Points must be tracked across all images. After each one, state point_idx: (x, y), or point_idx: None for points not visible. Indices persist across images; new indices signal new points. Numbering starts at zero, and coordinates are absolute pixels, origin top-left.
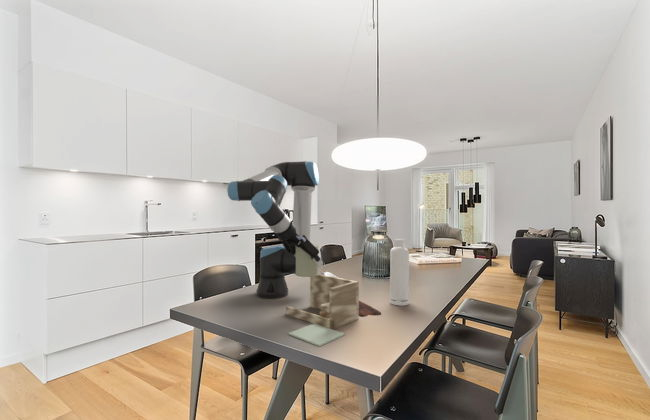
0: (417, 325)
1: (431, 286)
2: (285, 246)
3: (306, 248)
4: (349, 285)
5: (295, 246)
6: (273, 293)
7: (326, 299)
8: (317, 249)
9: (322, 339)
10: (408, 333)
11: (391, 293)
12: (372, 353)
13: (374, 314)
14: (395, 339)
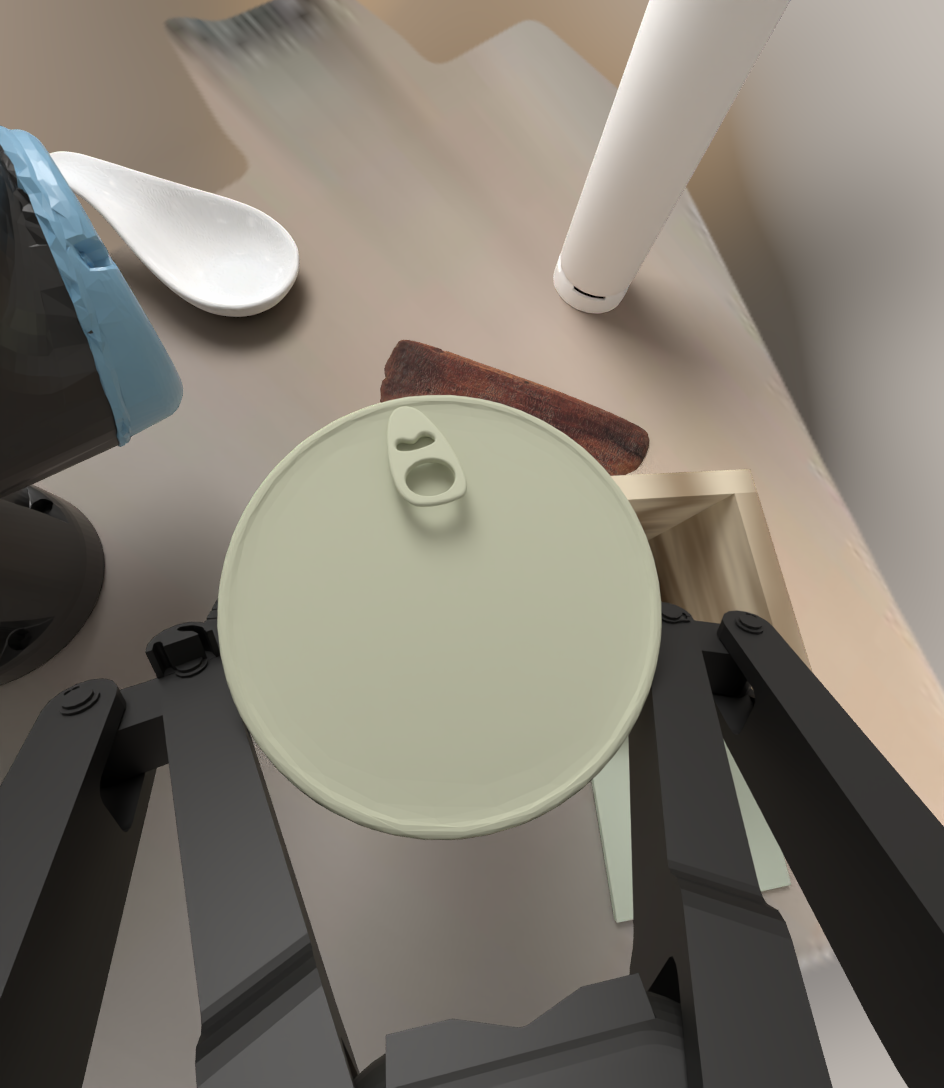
0: (794, 446)
1: (519, 50)
2: (89, 997)
3: (795, 877)
4: (770, 561)
5: (248, 738)
6: (49, 633)
7: None
8: (796, 655)
9: (752, 835)
10: (832, 527)
11: (594, 272)
12: (906, 756)
13: (641, 460)
14: (851, 601)
